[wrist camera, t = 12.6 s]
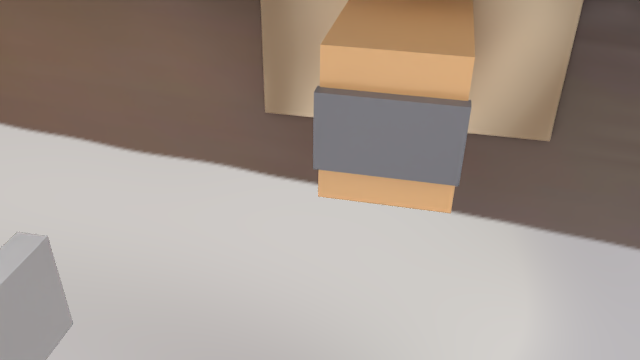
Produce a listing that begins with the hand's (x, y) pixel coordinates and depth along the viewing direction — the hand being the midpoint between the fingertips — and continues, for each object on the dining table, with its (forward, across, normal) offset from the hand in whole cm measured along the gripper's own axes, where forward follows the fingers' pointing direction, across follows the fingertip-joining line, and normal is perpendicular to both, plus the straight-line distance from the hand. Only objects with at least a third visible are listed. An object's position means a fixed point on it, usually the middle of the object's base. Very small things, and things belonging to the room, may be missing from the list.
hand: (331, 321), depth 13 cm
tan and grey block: (+17, 0, 0) cm, 17 cm away
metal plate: (+18, 0, 0) cm, 18 cm away
